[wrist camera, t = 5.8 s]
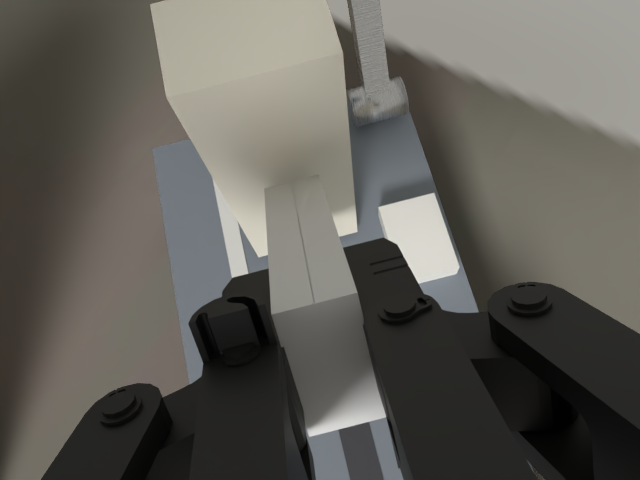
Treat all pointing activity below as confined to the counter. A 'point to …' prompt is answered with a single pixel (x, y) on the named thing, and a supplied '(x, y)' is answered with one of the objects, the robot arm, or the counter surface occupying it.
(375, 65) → the toggle lever
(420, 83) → the counter surface
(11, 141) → the counter surface
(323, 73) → the cream rectangular block
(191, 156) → the switch console
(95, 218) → the counter surface
